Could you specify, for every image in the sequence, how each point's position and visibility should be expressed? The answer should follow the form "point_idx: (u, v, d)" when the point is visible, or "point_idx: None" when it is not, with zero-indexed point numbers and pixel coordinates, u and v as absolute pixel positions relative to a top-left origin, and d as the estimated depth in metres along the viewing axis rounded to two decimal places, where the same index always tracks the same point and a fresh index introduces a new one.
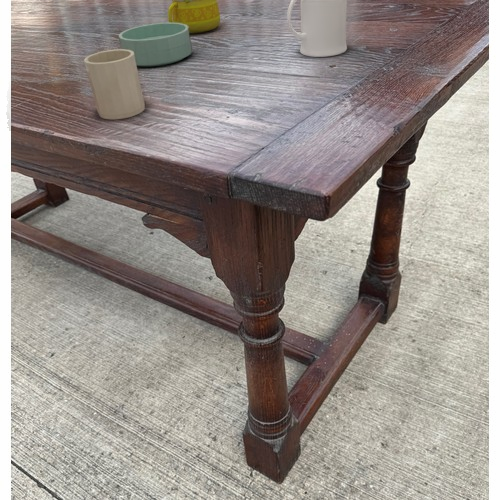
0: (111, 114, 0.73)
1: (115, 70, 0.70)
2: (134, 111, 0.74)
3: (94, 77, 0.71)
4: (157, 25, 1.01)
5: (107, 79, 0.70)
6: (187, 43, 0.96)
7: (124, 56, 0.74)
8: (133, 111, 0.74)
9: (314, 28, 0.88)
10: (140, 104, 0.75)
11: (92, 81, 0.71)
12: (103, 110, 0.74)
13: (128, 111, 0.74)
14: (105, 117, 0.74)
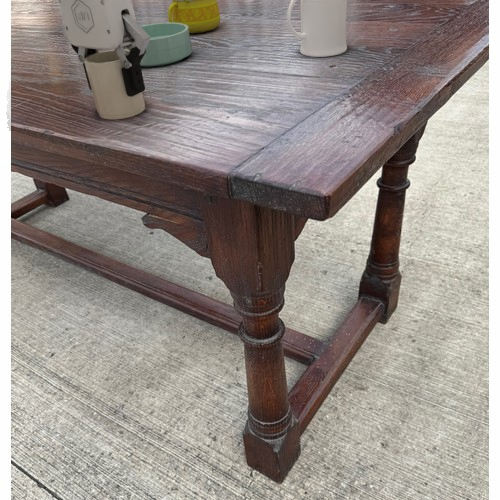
0: (111, 114, 0.73)
1: (115, 70, 0.70)
2: (134, 111, 0.74)
3: (94, 77, 0.71)
4: (157, 25, 1.01)
5: (107, 79, 0.70)
6: (187, 43, 0.96)
7: None
8: (133, 111, 0.74)
9: (314, 28, 0.88)
10: (140, 104, 0.75)
11: (92, 81, 0.71)
12: (103, 110, 0.74)
13: (128, 111, 0.74)
14: (105, 117, 0.74)
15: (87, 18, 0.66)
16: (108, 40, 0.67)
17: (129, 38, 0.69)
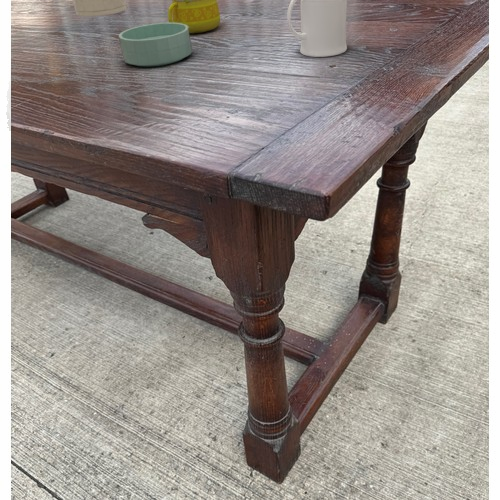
0: (89, 10, 0.67)
1: None
2: (114, 8, 0.68)
3: None
4: (157, 25, 1.01)
5: None
6: (187, 43, 0.96)
7: None
8: (113, 8, 0.68)
9: (314, 28, 0.88)
10: (121, 1, 0.69)
11: None
12: (80, 5, 0.67)
13: (107, 7, 0.68)
14: (82, 14, 0.68)
15: None
16: None
17: None
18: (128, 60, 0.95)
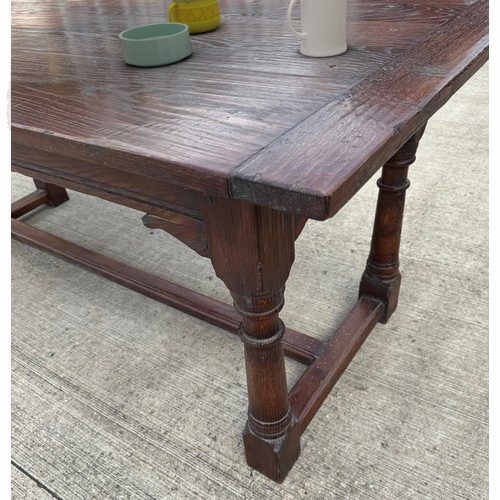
0: None
1: None
2: None
3: None
4: (157, 25, 1.01)
5: None
6: (187, 43, 0.96)
7: None
8: None
9: (314, 28, 0.88)
10: None
11: None
12: None
13: None
14: None
15: None
16: None
17: None
18: (128, 60, 0.95)
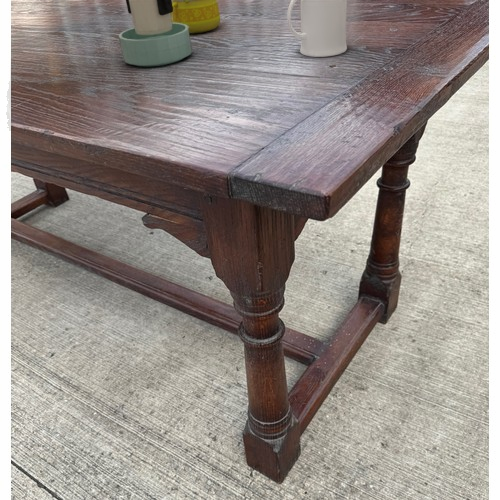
0: (146, 30, 0.93)
1: None
2: (164, 28, 0.94)
3: None
4: None
5: (144, 0, 0.90)
6: (187, 43, 0.96)
7: None
8: (163, 28, 0.94)
9: (314, 28, 0.88)
10: (169, 23, 0.94)
11: (132, 2, 0.91)
12: (140, 27, 0.93)
13: (160, 28, 0.93)
14: (141, 33, 0.94)
15: None
16: None
17: None
18: (128, 60, 0.95)
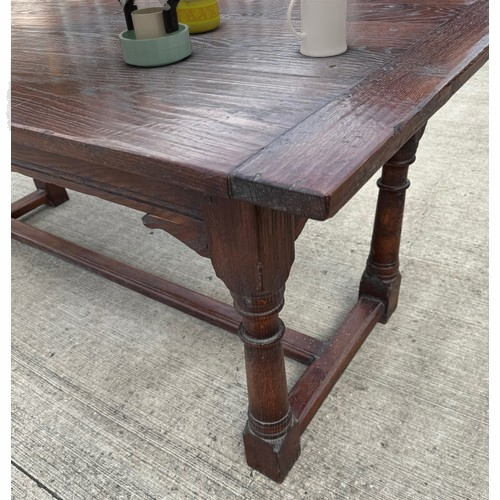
0: None
1: (155, 20, 0.92)
2: None
3: (139, 26, 0.93)
4: None
5: (149, 27, 0.92)
6: (187, 43, 0.96)
7: (160, 11, 0.97)
8: None
9: (314, 28, 0.88)
10: None
11: (137, 29, 0.93)
12: None
13: None
14: None
15: None
16: None
17: None
18: (128, 60, 0.95)
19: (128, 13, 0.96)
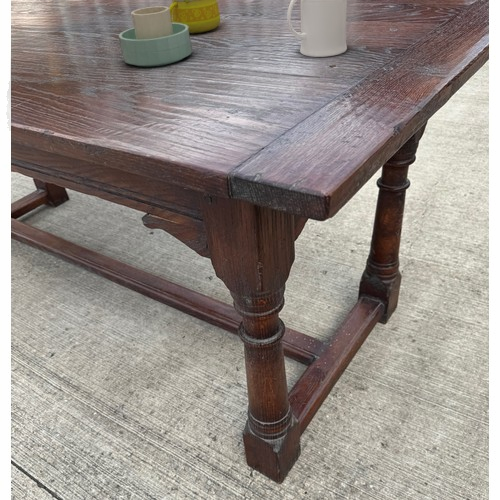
0: None
1: (155, 20, 0.92)
2: None
3: (139, 26, 0.93)
4: None
5: (149, 27, 0.92)
6: (187, 43, 0.96)
7: (160, 11, 0.97)
8: None
9: (314, 28, 0.88)
10: None
11: (137, 29, 0.93)
12: None
13: None
14: None
15: None
16: None
17: None
18: (128, 60, 0.95)
19: None
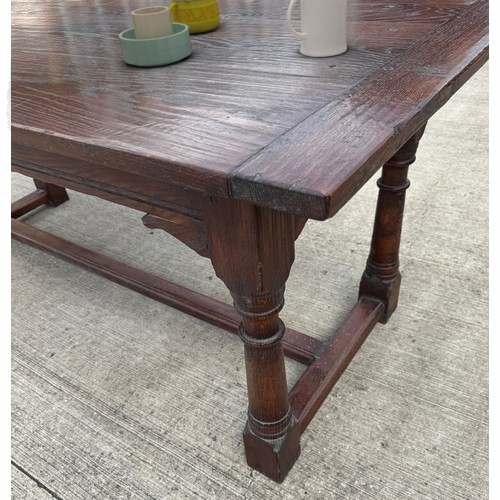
0: None
1: (155, 20, 0.92)
2: None
3: (139, 26, 0.93)
4: None
5: (149, 27, 0.92)
6: (187, 43, 0.96)
7: (160, 11, 0.97)
8: None
9: (314, 28, 0.88)
10: None
11: (137, 29, 0.93)
12: None
13: None
14: None
15: None
16: None
17: None
18: (128, 60, 0.95)
19: None
